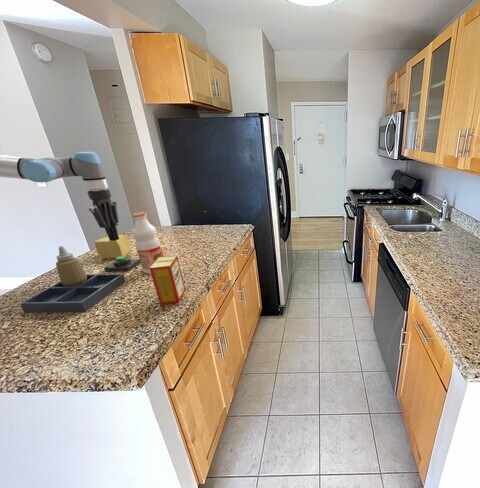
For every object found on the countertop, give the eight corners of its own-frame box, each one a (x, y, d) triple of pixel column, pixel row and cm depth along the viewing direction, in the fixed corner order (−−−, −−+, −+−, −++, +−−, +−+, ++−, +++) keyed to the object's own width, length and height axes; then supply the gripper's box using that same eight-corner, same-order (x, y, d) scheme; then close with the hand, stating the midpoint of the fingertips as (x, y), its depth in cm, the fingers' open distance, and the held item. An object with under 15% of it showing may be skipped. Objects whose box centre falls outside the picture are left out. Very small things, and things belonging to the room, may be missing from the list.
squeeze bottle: (85, 279, 113) (70, 241, 106) (93, 284, 109) (78, 245, 103) (60, 288, 107) (43, 248, 100) (68, 293, 103) (50, 252, 96)
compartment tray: (24, 312, 94) (19, 303, 92) (76, 282, 114) (72, 274, 112) (85, 311, 94) (81, 302, 93) (126, 281, 114) (123, 273, 113)
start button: (115, 262, 124) (113, 259, 123) (120, 259, 127) (119, 255, 127) (122, 262, 124) (121, 258, 123) (127, 259, 127) (126, 255, 127)
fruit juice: (146, 267, 127) (130, 211, 117) (168, 263, 130) (154, 209, 120) (141, 275, 119) (123, 216, 108) (164, 272, 122) (148, 214, 111)
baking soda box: (179, 302, 99) (169, 265, 93) (160, 304, 98) (149, 267, 92) (185, 289, 108) (177, 254, 102) (168, 291, 106) (158, 256, 100)
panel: (105, 271, 123) (102, 264, 121) (118, 263, 131) (116, 256, 130) (128, 271, 123) (126, 263, 121) (140, 263, 131) (138, 255, 130)
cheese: (111, 251, 144) (105, 235, 141) (132, 250, 146) (127, 233, 142) (99, 259, 135) (93, 241, 131) (122, 258, 137) (116, 240, 133)
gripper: (101, 186, 119) (117, 234, 128) (75, 192, 106) (94, 245, 115) (118, 186, 119) (132, 234, 128) (93, 192, 106) (111, 245, 115)
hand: (114, 239), depth 122 cm, fingers closed
